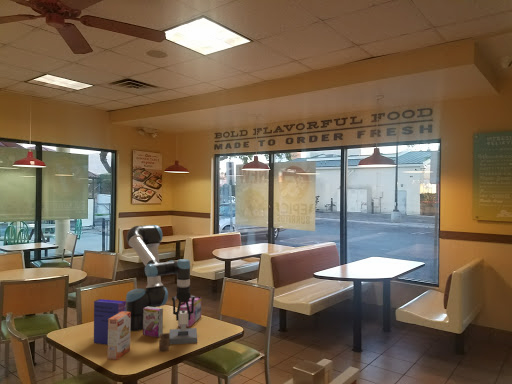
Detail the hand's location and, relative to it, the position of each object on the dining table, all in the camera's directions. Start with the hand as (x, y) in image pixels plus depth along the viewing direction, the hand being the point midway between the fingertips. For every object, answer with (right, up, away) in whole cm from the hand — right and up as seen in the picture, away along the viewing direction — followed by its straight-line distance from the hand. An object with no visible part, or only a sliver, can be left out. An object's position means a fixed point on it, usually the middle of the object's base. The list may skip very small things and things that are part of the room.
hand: (183, 325), depth 231 cm
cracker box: (-30, -7, -23) cm, 38 cm away
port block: (0, -8, 0) cm, 8 cm away
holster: (-8, -7, -13) cm, 17 cm away
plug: (0, -2, 0) cm, 2 cm away
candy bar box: (-19, -8, +5) cm, 21 cm away
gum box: (-1, -8, +32) cm, 33 cm away
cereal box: (-40, -7, -8) cm, 42 cm away
